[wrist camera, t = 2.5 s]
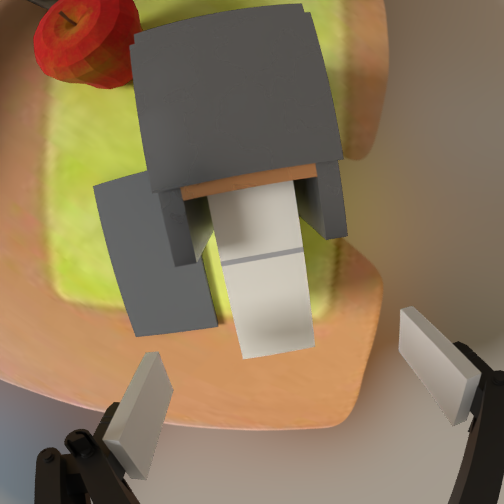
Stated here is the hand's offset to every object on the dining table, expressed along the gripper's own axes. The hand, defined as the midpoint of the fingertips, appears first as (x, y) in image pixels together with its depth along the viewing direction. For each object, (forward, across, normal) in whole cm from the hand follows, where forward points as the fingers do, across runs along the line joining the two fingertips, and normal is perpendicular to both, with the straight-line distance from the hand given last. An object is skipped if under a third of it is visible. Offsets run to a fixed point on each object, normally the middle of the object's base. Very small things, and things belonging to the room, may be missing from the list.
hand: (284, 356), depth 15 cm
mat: (+14, -10, +3) cm, 18 cm away
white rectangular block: (+14, 0, +4) cm, 15 cm away
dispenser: (+14, 0, +12) cm, 19 cm away
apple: (+14, -10, +23) cm, 29 cm away
